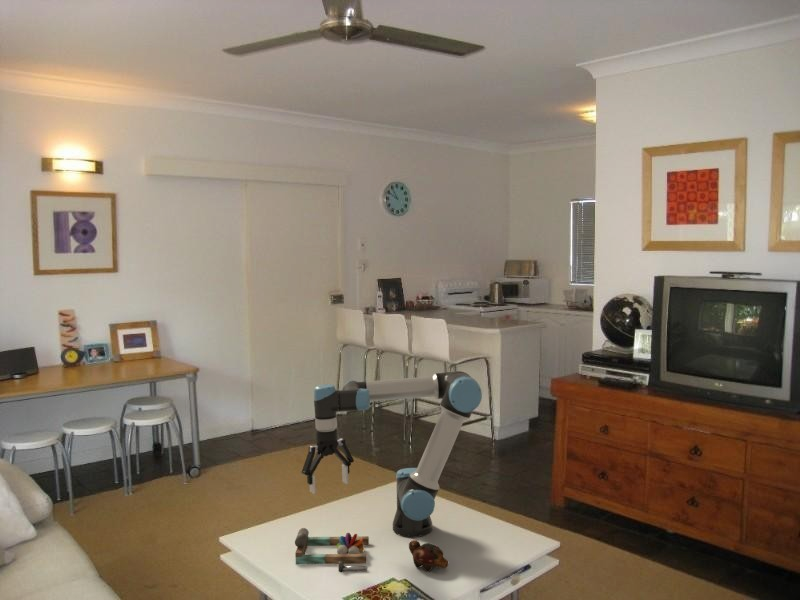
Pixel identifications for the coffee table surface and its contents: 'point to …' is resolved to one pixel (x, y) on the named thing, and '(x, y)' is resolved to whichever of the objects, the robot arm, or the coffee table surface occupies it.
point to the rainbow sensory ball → (350, 545)
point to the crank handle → (350, 567)
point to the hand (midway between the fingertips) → (329, 487)
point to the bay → (303, 558)
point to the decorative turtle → (427, 555)
